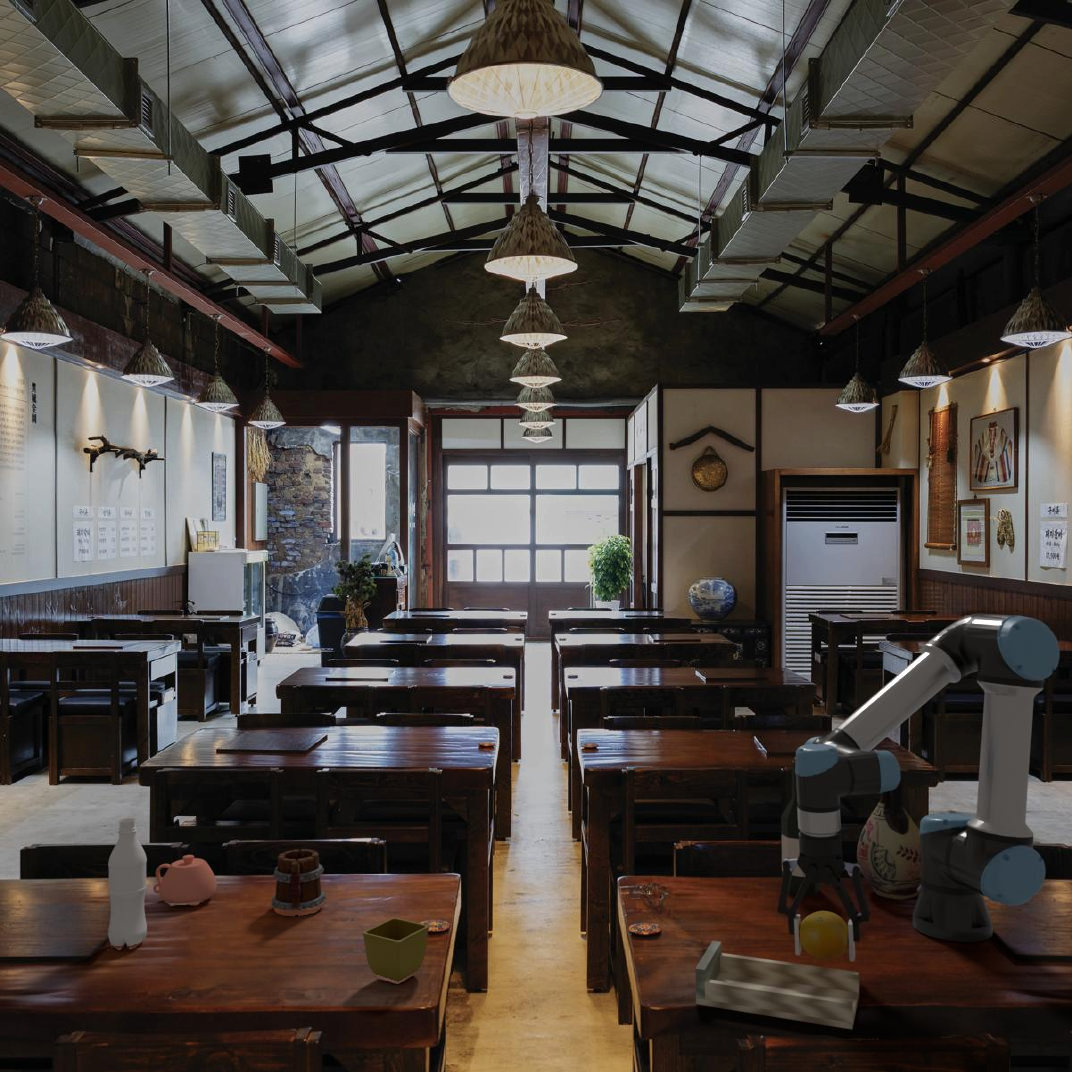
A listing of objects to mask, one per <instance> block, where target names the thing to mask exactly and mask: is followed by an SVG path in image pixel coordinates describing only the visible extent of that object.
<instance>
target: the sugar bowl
mask: <svg viewBox="0 0 1072 1072" xmlns="http://www.w3.org/2000/svg"><path fill="white" fill-rule="evenodd" d="M163 868H166V869H167V870H166V872H165V873H164V876H163V877H161V870H162V869H163ZM155 877H156V881H157V883H155V884H154V885H153V888H152V889H153V892H154V893H156V894H159V897H160V899H161V901H163V900H164V901H166V902H169V903H189V902H195V901H199V900H203V899H207V898H209V897H211V896H212V895H215V893H216V891H217V889H218V885H217V884H218V882H217V879H216V876H215V874H214V871H213V870H212V868H211V867H210V865H209V863H208V862H207V861H206V860H205V859H202V858H198V857H197V858H196V857H195V856H194V855H193V854H187V855H183V856H182V859H179V860H176V861H174V862H172V863H171V864H169V863H163V864H161V865H159V866H158V867H157V868H156V871H155ZM157 887H158V888H157ZM212 897H213V896H212ZM212 897H211V898H212ZM164 901H163V902H164Z"/></svg>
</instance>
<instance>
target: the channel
mask: <svg viewBox="0 0 1072 1072" xmlns="http://www.w3.org/2000/svg"><path fill="white" fill-rule="evenodd" d="M694 972H695V1005H700V1006H705V1007H711V1008H719V1009H724V1010H732V1011H736V1012H737V1011H738V1012H743V1013H748V1014H756V1015H761V1016H767V1017H768V1016H769V1017H775V1018H779V1019H780V1018H781V1019H786V1020H792V1021H799V1022H805V1023H811V1024H816V1025H823V1026H829V1027H836V1028H841V1029H849V1030H853V1027H854V1022H855V1017H856V1013H857V1008H858V1003H859V999H860V973H859V971H858V972H857V971H851V970H846V969H845V970H844V969H838V968H837V969H836V968H832V967H831V968H830V967H822V966H815V965H809V964H802V963H795V962H788V961H783V960H782V961H780V960H773V959H768V958H767V959H766V958H759V957H754V956H747V955H746V956H745V955H740V954H739V955H738V954H732V953H725V952H722V942H721V941H718V940H711V943H710V945H709V946H708V948H707V949H706V951H705V952H704V954H703V955H702V957H701V959H700V960H699V962H698V963H697V965H696V966H695V971H694Z"/></svg>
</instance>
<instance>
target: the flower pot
mask: <svg viewBox="0 0 1072 1072" xmlns="http://www.w3.org/2000/svg"><path fill="white" fill-rule="evenodd" d="M428 934H429V925H426V924H424V923H423V924H422V923H419V922H415V921H410V920H406V919H401V918H398V917H391V918H389V919H387V920H386V921H383V922H382V923H379V924H377V925H376V926H373V927H372V928H369V929H366V930H364V931H363V932H362V936H363V942H364V943H363V944H364V949H365V956H366V960H367V963H368V966H369V969H370V970H371V972H372V973H373V975H374V974H376V975H380V976H383V977H385V978H389V979H391V980H394V981H397V982H399V981H401V980H403V979H404V978H406V977H407V976H409V975H411V974H413V973H415V972H417V973H418V971H419V970H420V967H421V966H422V964H423V961H424V959H425V956H426V951H427V945H428V936H429V935H428Z"/></svg>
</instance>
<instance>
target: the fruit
mask: <svg viewBox="0 0 1072 1072" xmlns="http://www.w3.org/2000/svg"><path fill="white" fill-rule="evenodd" d="M799 937H800V941H801V944H802V948H803V949H804V950H805V951H806V952H807V954H809V955H810V956H812V957H814V958H817V959H821V960H833V959H837V958H839V957H841V956H842V955H844V954H845V953H846V951H847V950H848V948H849V935H848V923H847V922H845V920H844V919H843V918H842V917H841V916H840V915H838V914H837V913H834V912H832V911H827V910H818V911H815V912H813V913H810V914H809V915H807V916H805V917H804V919H803V920H802V921H801V925H800V929H799Z"/></svg>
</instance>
